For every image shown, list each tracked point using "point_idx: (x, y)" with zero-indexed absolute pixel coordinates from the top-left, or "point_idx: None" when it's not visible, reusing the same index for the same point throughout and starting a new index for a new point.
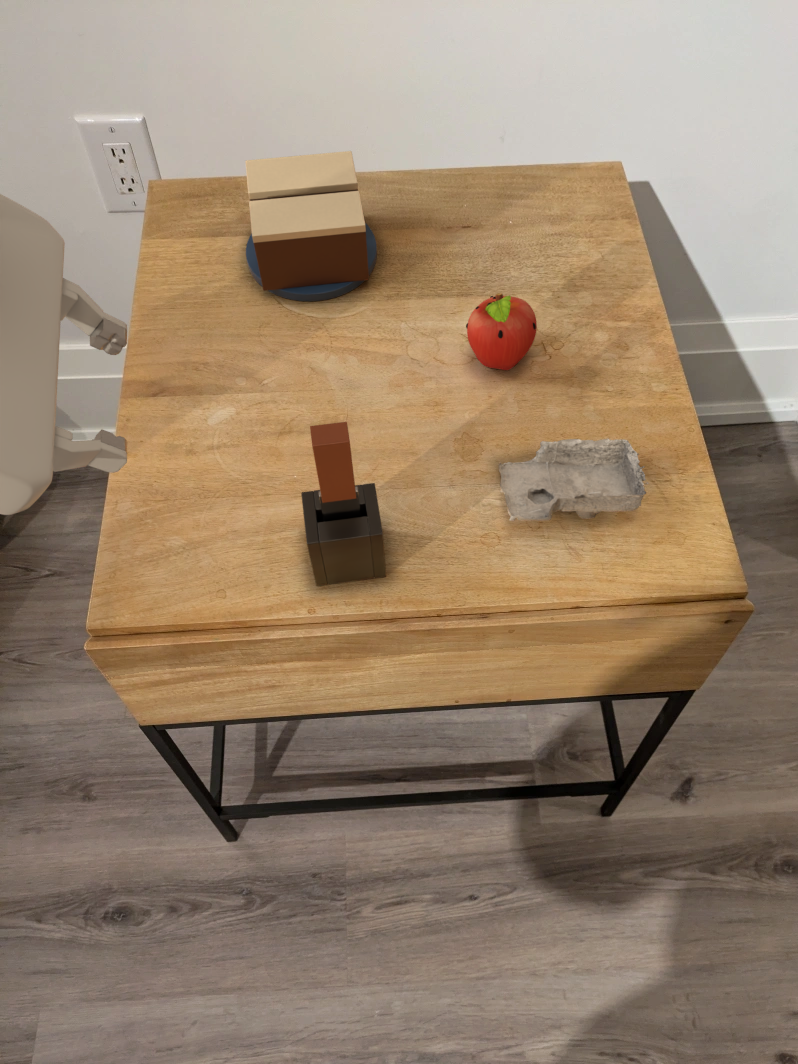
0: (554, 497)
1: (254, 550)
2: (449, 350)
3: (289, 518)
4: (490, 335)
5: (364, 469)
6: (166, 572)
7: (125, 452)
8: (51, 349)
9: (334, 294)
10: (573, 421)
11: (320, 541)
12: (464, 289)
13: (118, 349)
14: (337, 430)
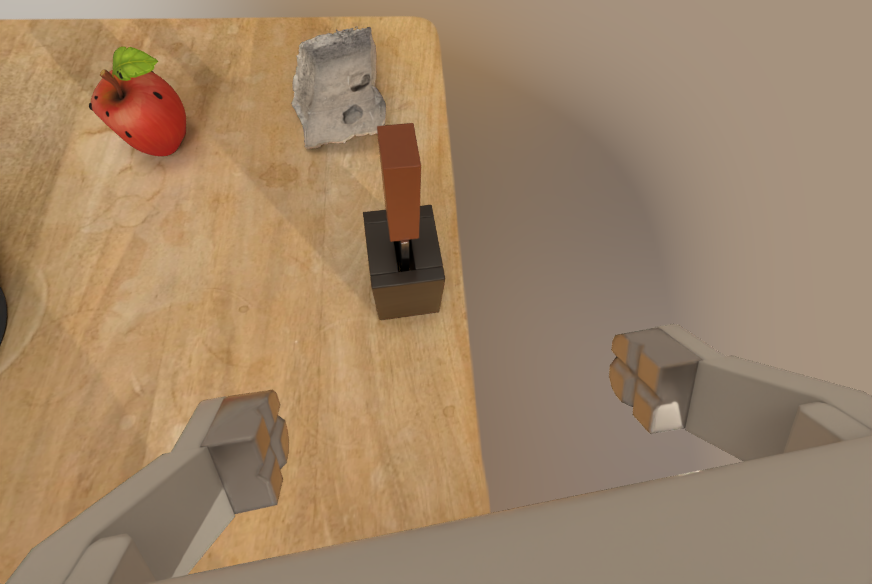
0: (354, 104)
1: (393, 379)
2: (140, 185)
3: (353, 344)
4: (156, 105)
5: (295, 269)
6: (421, 482)
7: (661, 326)
8: (575, 525)
9: (1, 306)
10: (261, 91)
11: (441, 265)
12: (47, 167)
13: (283, 424)
14: (392, 136)
